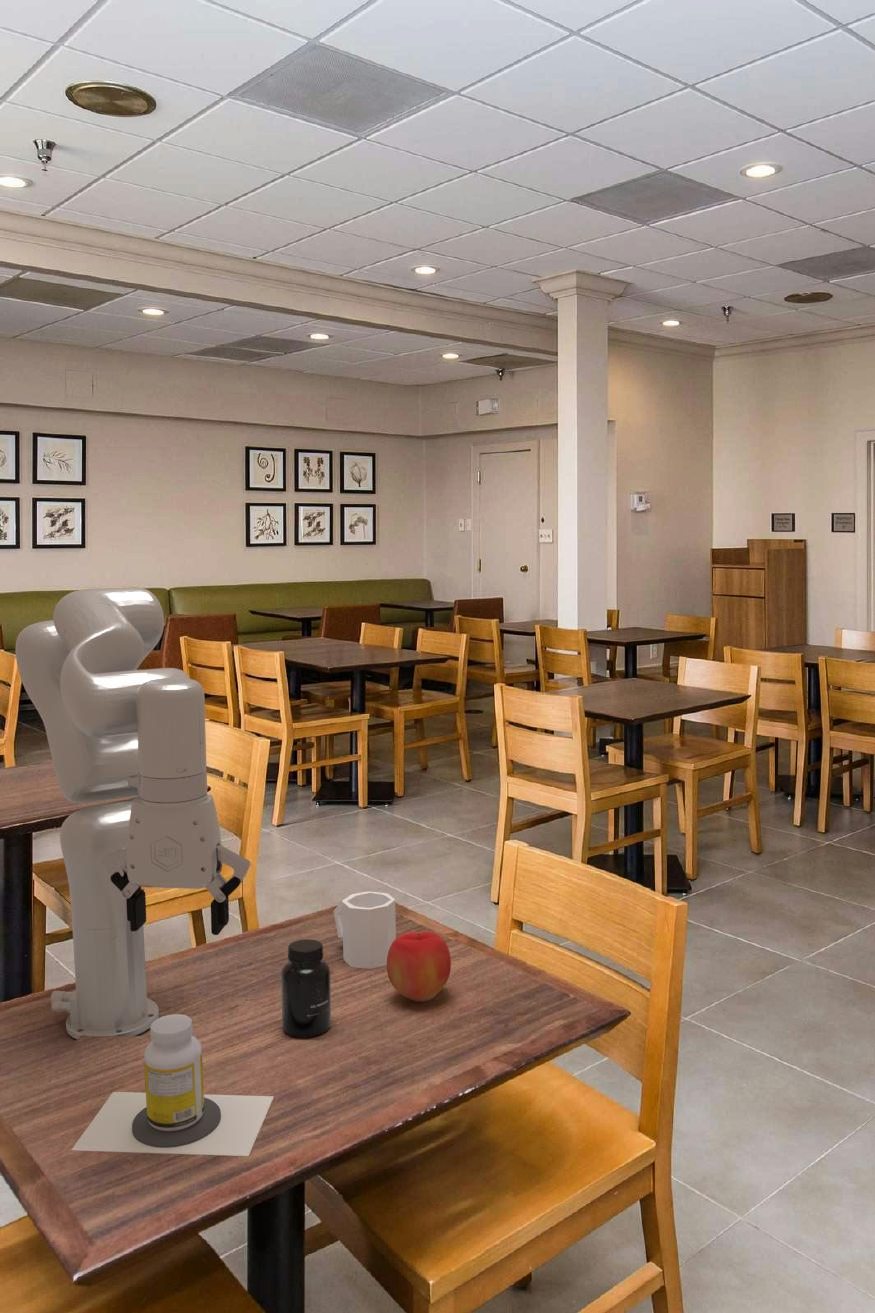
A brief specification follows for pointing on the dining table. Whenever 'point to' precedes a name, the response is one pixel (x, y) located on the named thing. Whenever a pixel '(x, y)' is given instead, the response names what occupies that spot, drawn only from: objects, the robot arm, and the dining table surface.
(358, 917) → the mug
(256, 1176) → the dining table surface
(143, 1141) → the pad
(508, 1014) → the dining table surface
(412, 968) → the apple
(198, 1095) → the pill bottle
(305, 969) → the supplement bottle
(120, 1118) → the board
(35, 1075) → the dining table surface
